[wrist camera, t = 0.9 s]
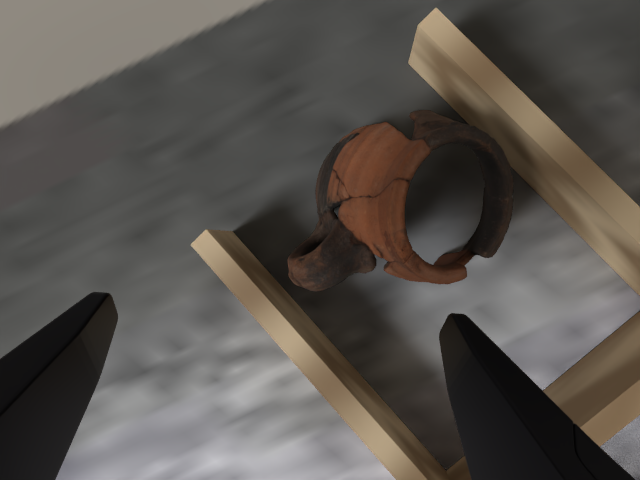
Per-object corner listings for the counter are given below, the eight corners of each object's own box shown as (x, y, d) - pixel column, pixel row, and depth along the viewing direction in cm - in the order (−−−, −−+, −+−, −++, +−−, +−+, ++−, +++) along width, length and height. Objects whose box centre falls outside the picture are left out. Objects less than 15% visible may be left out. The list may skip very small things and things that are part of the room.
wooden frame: (681, 306, 21) (756, 321, 17) (444, 499, 22) (462, 555, 18) (423, 49, 22) (435, 7, 18) (219, 244, 24) (190, 244, 20)
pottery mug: (378, 92, 23) (479, 55, 16) (446, 207, 27) (555, 221, 19) (231, 217, 21) (266, 244, 14) (325, 324, 25) (395, 391, 17)
